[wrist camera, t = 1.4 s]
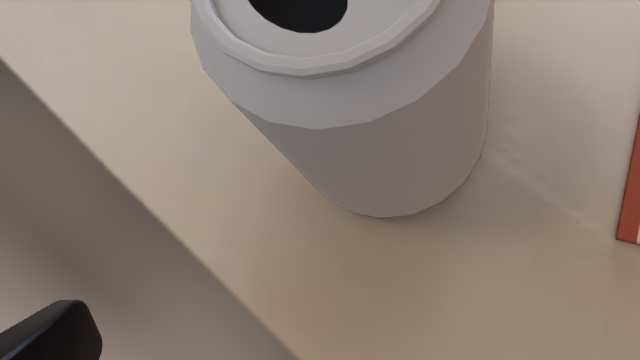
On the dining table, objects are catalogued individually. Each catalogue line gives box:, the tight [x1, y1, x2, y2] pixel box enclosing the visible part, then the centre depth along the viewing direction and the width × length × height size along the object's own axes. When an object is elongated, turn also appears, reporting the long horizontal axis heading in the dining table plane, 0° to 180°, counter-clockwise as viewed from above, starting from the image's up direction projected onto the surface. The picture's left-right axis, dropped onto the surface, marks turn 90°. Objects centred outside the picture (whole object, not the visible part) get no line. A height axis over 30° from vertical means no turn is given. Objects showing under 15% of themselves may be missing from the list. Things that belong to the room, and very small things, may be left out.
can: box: [190, 0, 495, 218], centre depth 18 cm, size 8×8×12 cm
